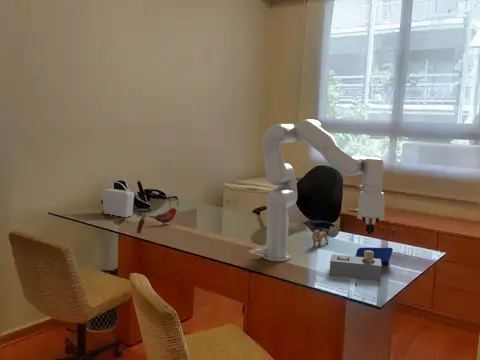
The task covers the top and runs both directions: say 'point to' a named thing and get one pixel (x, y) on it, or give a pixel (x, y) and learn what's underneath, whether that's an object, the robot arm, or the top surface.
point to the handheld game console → (377, 254)
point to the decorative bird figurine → (165, 216)
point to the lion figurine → (319, 237)
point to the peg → (368, 256)
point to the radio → (118, 201)
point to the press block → (355, 267)
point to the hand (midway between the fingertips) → (369, 233)
